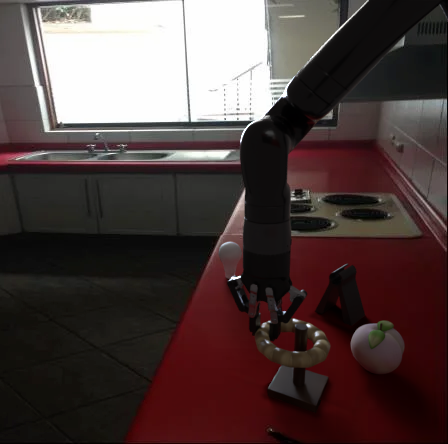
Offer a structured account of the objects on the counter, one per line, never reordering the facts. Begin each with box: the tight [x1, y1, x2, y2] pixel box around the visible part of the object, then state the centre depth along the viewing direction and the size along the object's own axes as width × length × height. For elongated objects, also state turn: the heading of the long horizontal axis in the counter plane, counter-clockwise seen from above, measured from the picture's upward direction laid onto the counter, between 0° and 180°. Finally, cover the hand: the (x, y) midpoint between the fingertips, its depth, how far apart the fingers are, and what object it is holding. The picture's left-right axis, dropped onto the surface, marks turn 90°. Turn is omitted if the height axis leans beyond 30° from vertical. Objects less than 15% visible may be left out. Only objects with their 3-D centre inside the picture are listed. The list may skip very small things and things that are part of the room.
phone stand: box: [314, 263, 366, 327], centre depth 90 cm, size 9×6×12 cm, turn 40°
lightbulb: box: [218, 241, 243, 280], centre depth 111 cm, size 6×6×11 cm
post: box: [267, 323, 329, 414], centre depth 70 cm, size 8×8×12 cm
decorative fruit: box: [350, 320, 405, 375], centre depth 74 cm, size 9×8×10 cm
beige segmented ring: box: [254, 317, 331, 369], centre depth 70 cm, size 12×12×2 cm
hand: (264, 336), depth 72 cm, fingers closed on beige segmented ring, 2 cm apart
